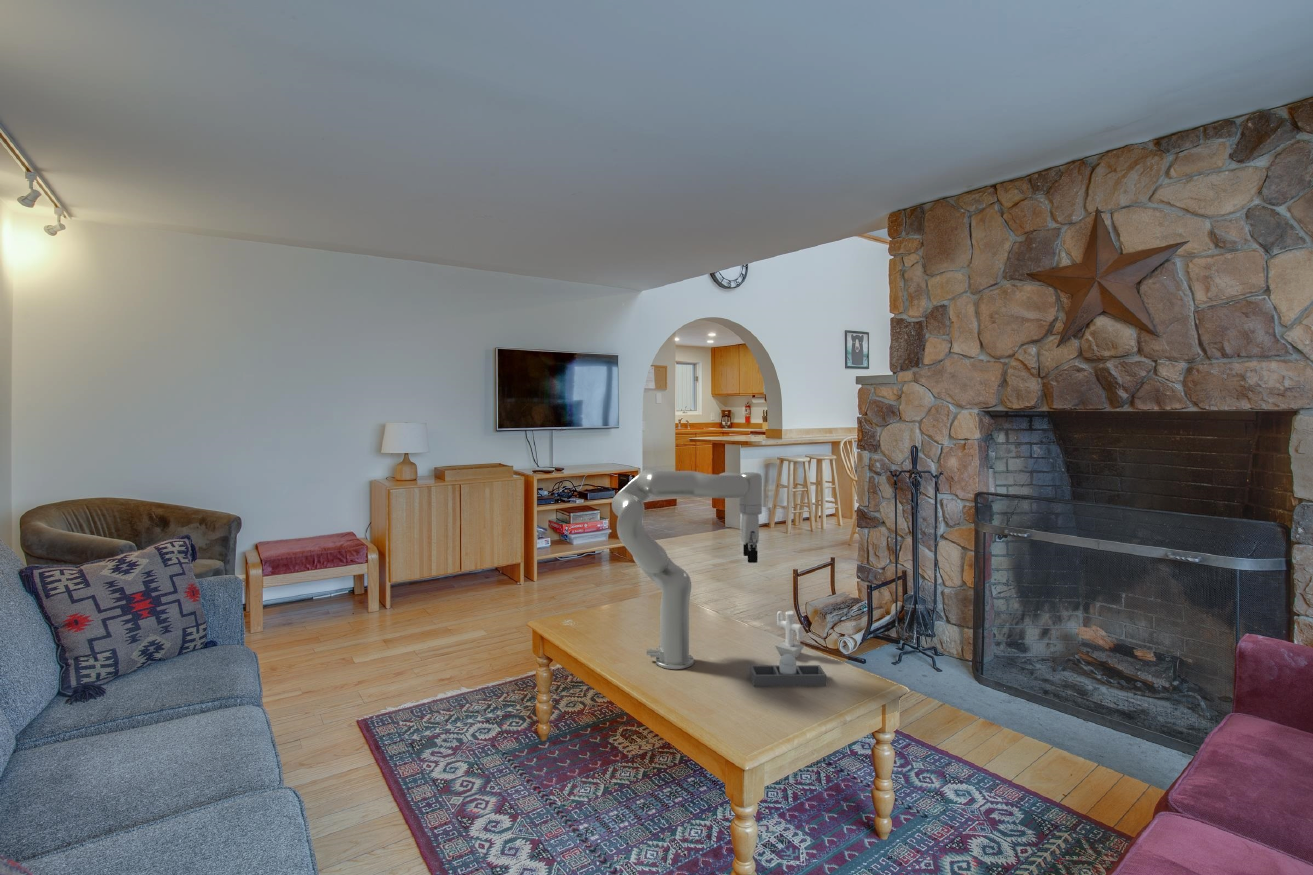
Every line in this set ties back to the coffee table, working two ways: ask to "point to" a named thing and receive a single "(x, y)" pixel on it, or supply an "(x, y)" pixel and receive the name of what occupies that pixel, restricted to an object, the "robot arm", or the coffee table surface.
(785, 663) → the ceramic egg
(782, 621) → the figurine
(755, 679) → the grey compartment tray
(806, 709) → the coffee table surface
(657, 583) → the robot arm
